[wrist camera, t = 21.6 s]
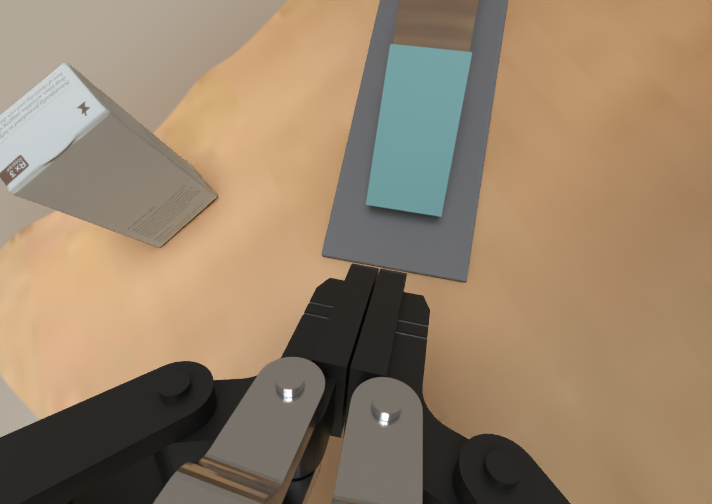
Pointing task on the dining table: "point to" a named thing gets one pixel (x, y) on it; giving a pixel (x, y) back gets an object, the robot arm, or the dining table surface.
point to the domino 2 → (417, 128)
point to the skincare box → (96, 161)
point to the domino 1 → (436, 23)
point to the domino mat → (456, 225)
